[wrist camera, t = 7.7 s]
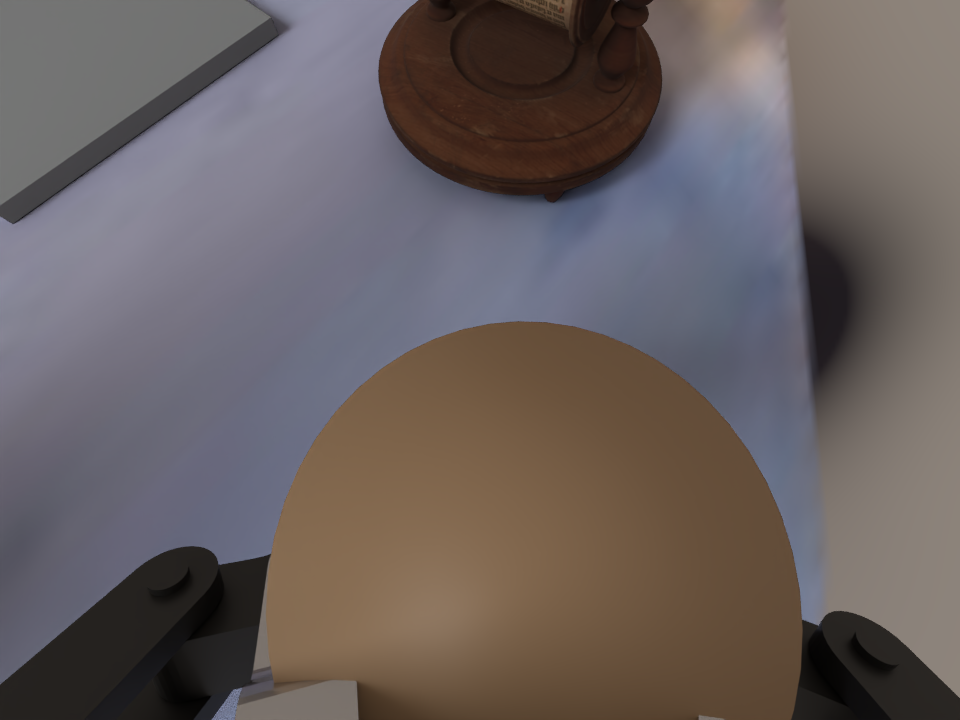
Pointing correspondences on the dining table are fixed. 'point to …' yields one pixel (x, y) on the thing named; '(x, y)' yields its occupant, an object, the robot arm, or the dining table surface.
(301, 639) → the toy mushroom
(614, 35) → the scroll
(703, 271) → the dining table surface
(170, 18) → the mat
